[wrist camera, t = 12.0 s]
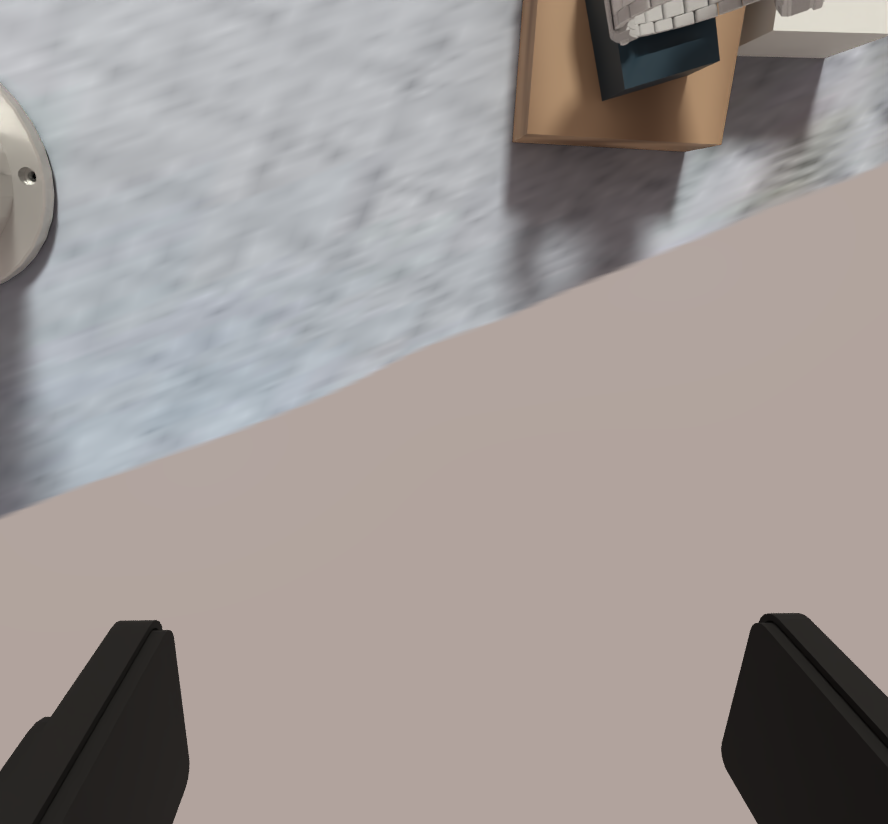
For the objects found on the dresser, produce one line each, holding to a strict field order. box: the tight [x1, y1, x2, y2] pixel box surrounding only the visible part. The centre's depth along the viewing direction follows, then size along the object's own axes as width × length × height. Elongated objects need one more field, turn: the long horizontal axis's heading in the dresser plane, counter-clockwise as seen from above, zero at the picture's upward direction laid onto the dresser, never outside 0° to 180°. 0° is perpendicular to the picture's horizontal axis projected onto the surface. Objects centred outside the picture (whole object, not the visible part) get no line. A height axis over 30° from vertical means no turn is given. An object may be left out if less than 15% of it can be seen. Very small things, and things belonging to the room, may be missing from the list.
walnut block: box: [513, 0, 746, 152], centre depth 30 cm, size 10×10×4 cm
